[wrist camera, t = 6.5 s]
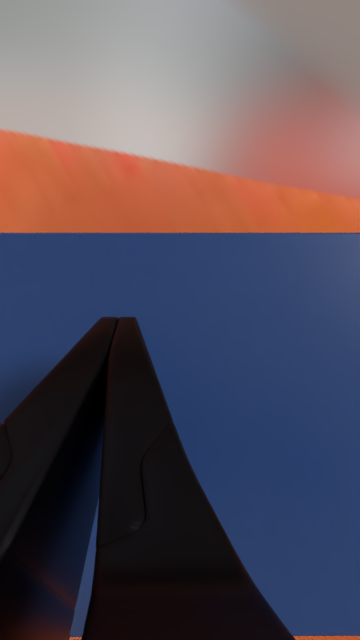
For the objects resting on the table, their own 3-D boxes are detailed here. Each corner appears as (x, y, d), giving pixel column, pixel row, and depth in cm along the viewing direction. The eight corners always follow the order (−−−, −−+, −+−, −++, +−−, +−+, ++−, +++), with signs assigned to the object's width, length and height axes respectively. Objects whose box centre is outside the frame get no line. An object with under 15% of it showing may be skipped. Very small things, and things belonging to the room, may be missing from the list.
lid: (-83, 238, 11) (-100, 232, 11) (354, 238, 11) (366, 231, 11) (-97, 619, 11) (-116, 639, 10) (364, 617, 11) (377, 637, 10)
